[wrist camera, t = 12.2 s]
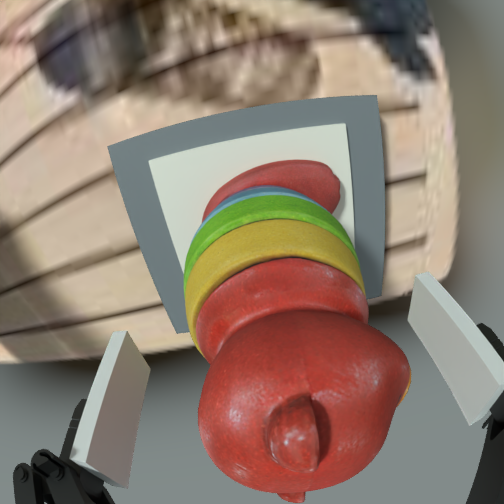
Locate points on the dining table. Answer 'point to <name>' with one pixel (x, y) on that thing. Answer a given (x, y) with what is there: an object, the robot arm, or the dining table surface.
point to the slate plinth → (240, 160)
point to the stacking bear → (287, 335)
